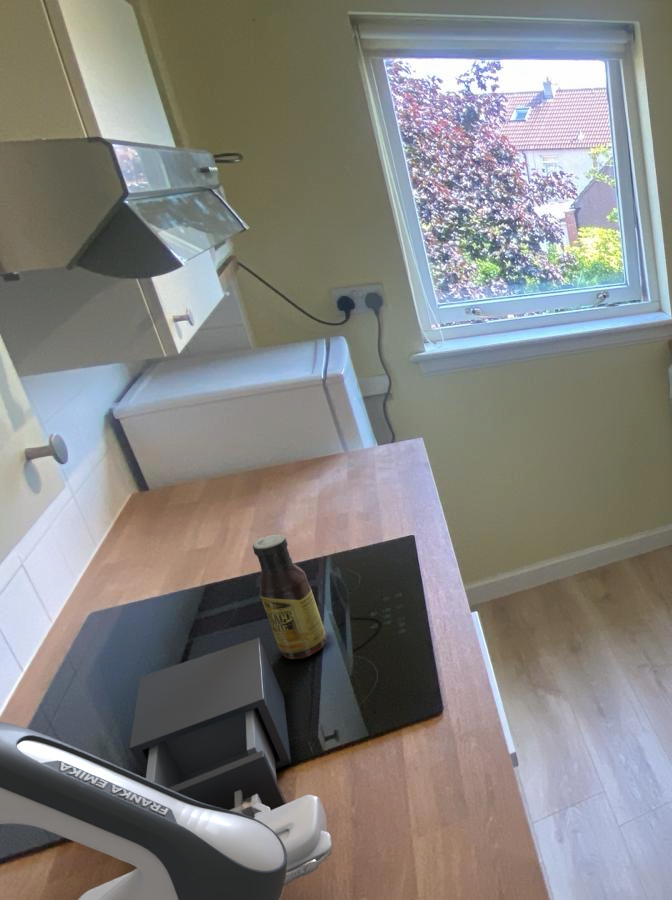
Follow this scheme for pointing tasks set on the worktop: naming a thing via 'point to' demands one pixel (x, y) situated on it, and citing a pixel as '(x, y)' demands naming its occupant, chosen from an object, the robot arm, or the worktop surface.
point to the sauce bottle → (288, 600)
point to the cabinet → (209, 699)
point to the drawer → (220, 763)
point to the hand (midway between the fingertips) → (210, 818)
